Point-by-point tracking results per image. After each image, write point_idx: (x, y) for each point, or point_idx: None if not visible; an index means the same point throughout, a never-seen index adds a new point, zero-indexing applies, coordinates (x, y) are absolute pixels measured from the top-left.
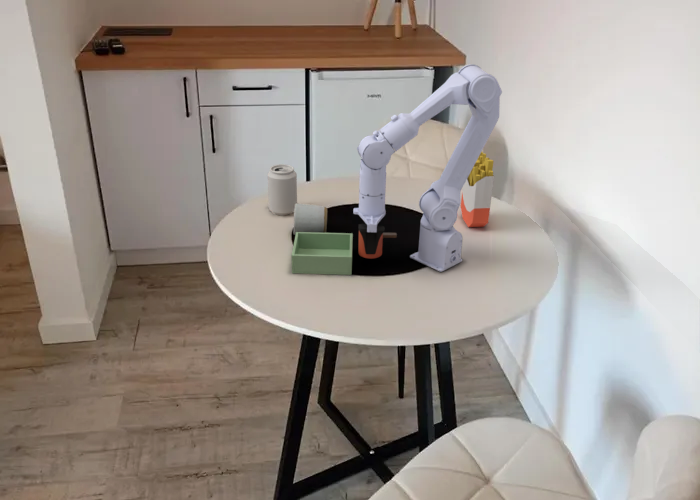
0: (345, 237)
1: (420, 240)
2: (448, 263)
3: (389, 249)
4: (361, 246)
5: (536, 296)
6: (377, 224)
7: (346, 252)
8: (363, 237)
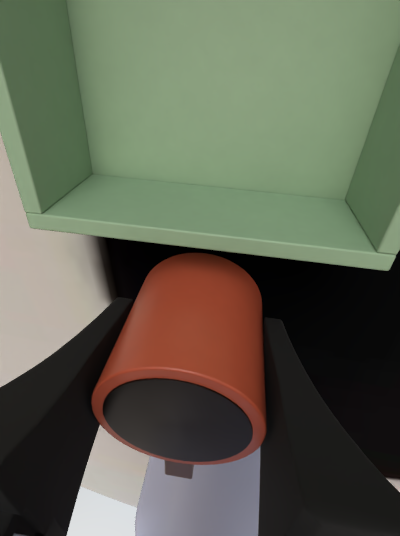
0: (381, 208)
1: (214, 476)
2: None
3: (319, 348)
4: (144, 300)
5: (85, 486)
6: (260, 470)
7: (312, 178)
8: (13, 383)
